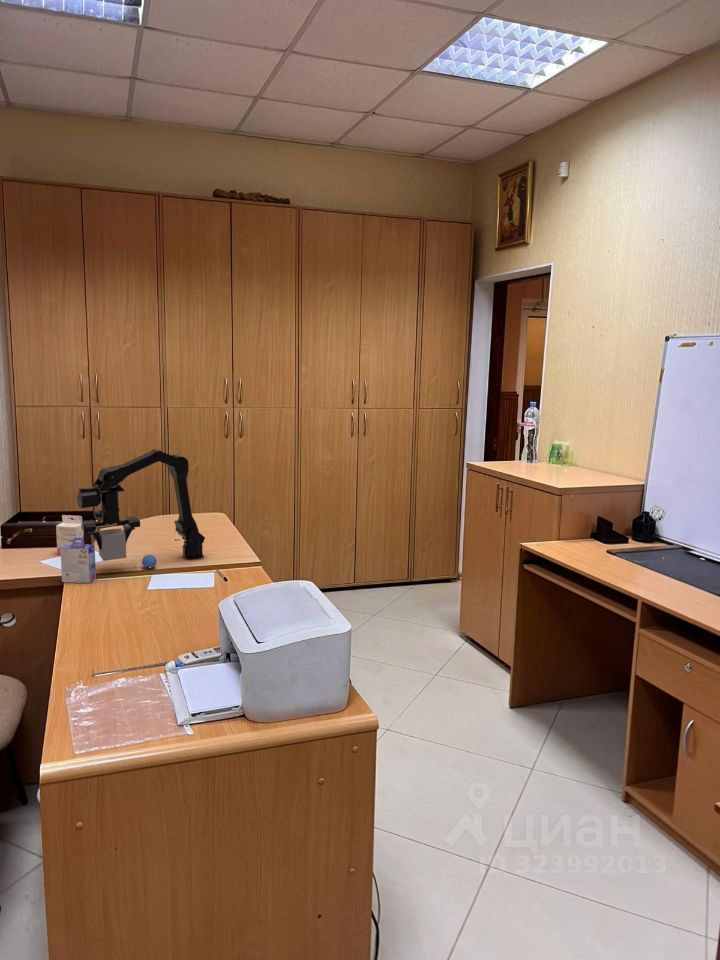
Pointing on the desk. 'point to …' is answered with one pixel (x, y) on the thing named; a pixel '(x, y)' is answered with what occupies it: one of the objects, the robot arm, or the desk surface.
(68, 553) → the ink cartridge box
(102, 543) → the matte gray cube
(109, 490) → the robot arm
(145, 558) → the ball
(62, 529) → the ink cartridge box
